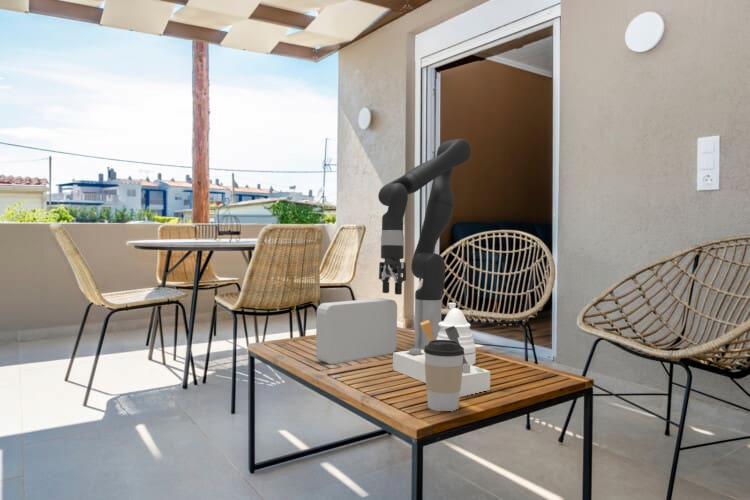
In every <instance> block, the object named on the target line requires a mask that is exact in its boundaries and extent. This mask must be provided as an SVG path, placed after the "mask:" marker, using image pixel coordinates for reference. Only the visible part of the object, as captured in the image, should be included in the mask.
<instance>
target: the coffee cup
mask: <svg viewBox="0 0 750 500" xmlns="http://www.w3.org/2000/svg"><path fill="white" fill-rule="evenodd" d="M424 348H425V350H424V352H425V376H426V383H425V389H426V392H427V393H426V396H427V407H428V409H430V410H432V411H436V412H440V411H451V412H454V410H455V411H457V410H459V408H460V407H459V406H460V398H461V397H460V390H461V381H462V370H463V354H464V348H463V347H462V346H460V344H459V342H456V341H451V340H433V341H430V342H429V344H428V345H426V346H425V347H424ZM456 409H457V410H456Z"/></svg>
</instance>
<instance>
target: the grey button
mask: <svg viewBox="0 0 750 500" xmlns="http://www.w3.org/2000/svg"><path fill="white" fill-rule="evenodd" d="M408 351H409V355H412V356H417V355H421V349H419V348H414V347H413V348H409V349H408Z"/></svg>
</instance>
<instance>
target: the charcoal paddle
mask: <svg viewBox="0 0 750 500" xmlns="http://www.w3.org/2000/svg"><path fill="white" fill-rule="evenodd" d="M445 331H446V334H447V336H448V338H449V339H450V340H452V341H456V342H459V341H458V339H457V338H459V334H458V331H457V329H456V328H455V327H454V326H452V327H449V328H446V329H445ZM463 364H468V363H467V362H466V359H465V357H464V354H463Z"/></svg>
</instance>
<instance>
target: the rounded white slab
mask: <svg viewBox="0 0 750 500" xmlns="http://www.w3.org/2000/svg"><path fill="white" fill-rule="evenodd" d="M315 317H316V319H315V320H316V325H315V327H316V330H315V331H316V333H315V334H316V335H315V336H316V337H315V355H316V359H317V360H319V362H323V363H325V364H328V365H335V364H341V363H346V362H352V361H358V360H363V359H364V360H365V359H369V358H375V357H380V356H381V357H382V356H387V355H391V354H392V355H393V353H394V352H395V351H396V350H397V345H398V344H397V343H398V305H397V302H396V301H395V300H393V299H389V298H384V297H383V298H381V297H380V298H368V299H356V300H344V301H334V302H332V301H331V302H330V301H329V302H323V303H320V304H319V305H318V307H317V309H316V316H315Z"/></svg>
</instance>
